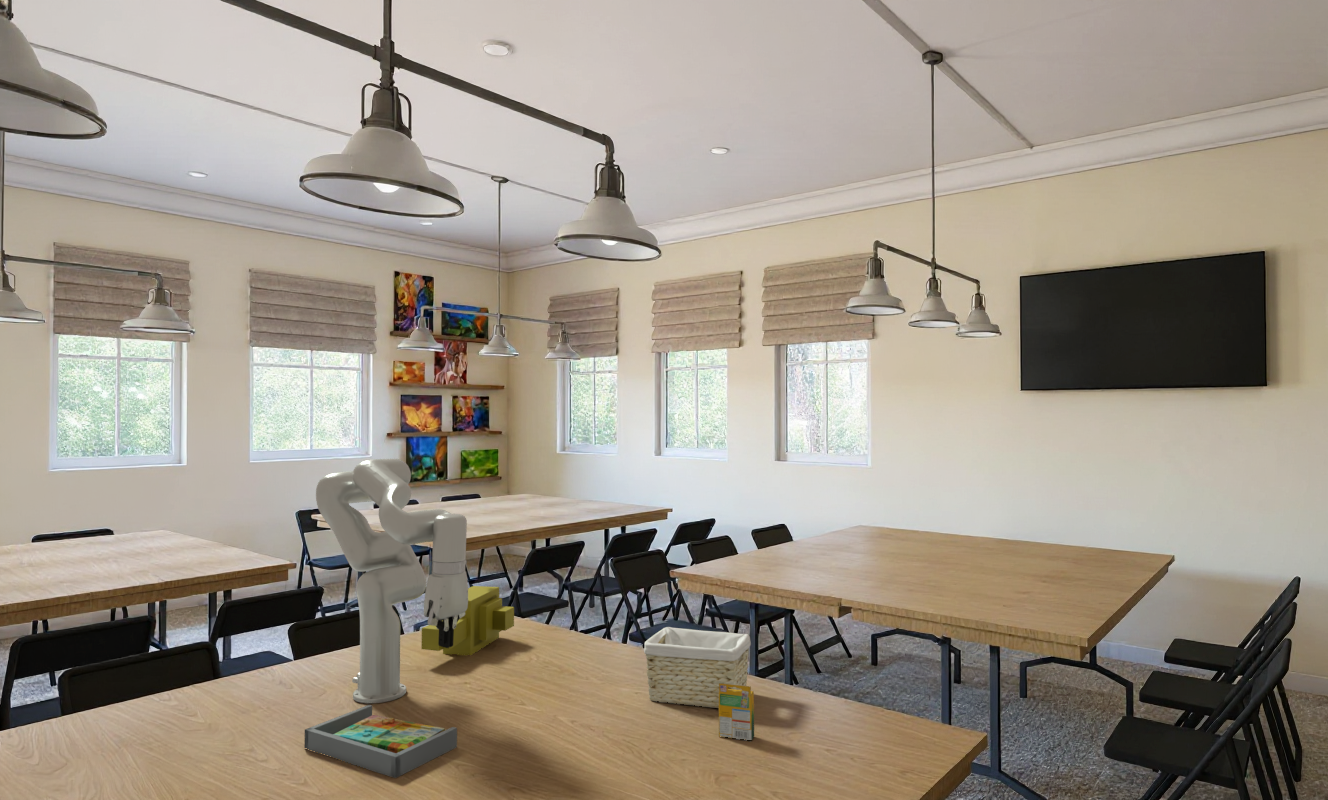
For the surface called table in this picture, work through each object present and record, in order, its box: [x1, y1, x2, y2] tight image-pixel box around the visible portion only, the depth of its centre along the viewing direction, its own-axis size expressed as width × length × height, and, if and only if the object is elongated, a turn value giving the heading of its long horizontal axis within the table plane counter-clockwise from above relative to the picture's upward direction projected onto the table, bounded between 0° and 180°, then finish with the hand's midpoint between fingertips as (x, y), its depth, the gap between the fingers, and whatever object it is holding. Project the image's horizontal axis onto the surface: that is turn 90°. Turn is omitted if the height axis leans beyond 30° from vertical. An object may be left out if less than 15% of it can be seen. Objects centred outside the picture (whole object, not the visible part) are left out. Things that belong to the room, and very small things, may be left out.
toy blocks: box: [421, 585, 515, 656], centre depth 229 cm, size 35×16×16 cm
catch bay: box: [303, 704, 458, 779], centre depth 160 cm, size 27×16×4 cm, turn 60°
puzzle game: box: [333, 714, 446, 753], centre depth 160 cm, size 12×5×20 cm
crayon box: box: [718, 683, 755, 741], centre depth 165 cm, size 7×3×12 cm, turn 71°
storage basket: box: [643, 626, 752, 709], centre depth 190 cm, size 24×16×15 cm
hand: (445, 645), depth 178 cm, fingers closed
